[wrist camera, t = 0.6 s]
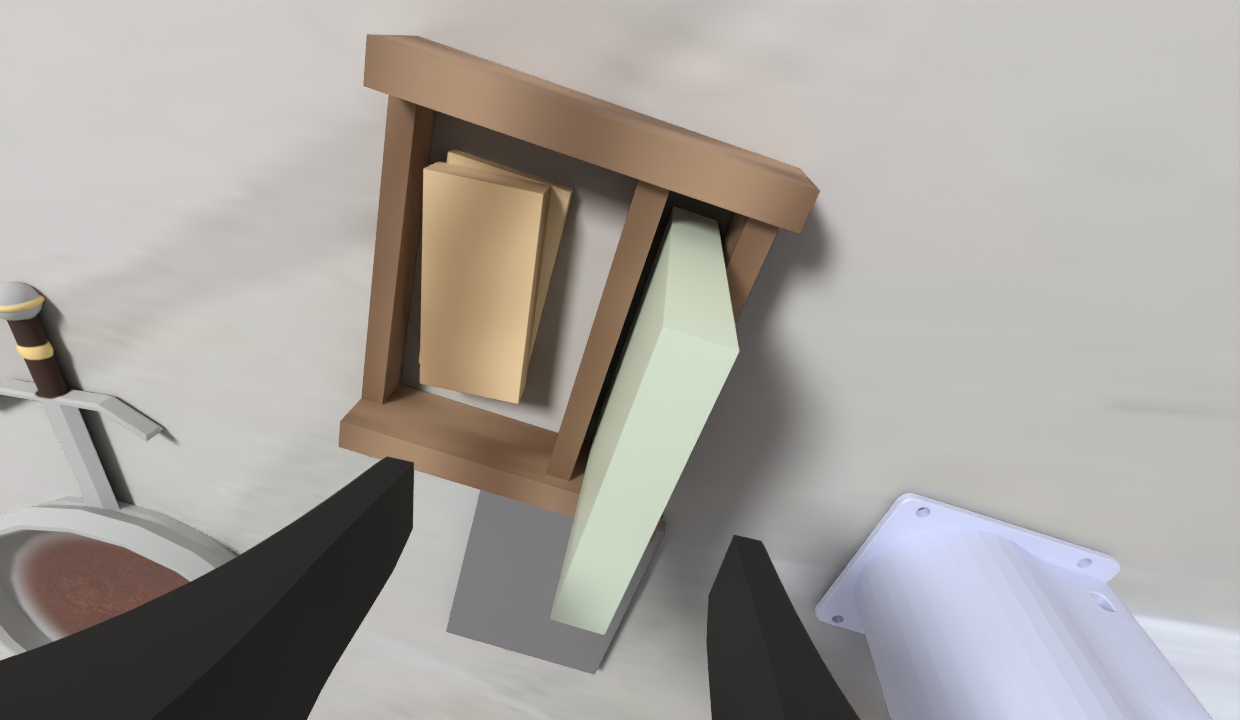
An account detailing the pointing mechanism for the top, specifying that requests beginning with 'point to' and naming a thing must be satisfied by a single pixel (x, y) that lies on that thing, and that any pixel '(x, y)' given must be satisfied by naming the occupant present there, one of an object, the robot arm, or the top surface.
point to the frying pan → (82, 515)
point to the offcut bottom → (554, 225)
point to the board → (649, 418)
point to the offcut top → (479, 279)
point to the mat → (526, 585)
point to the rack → (662, 162)
